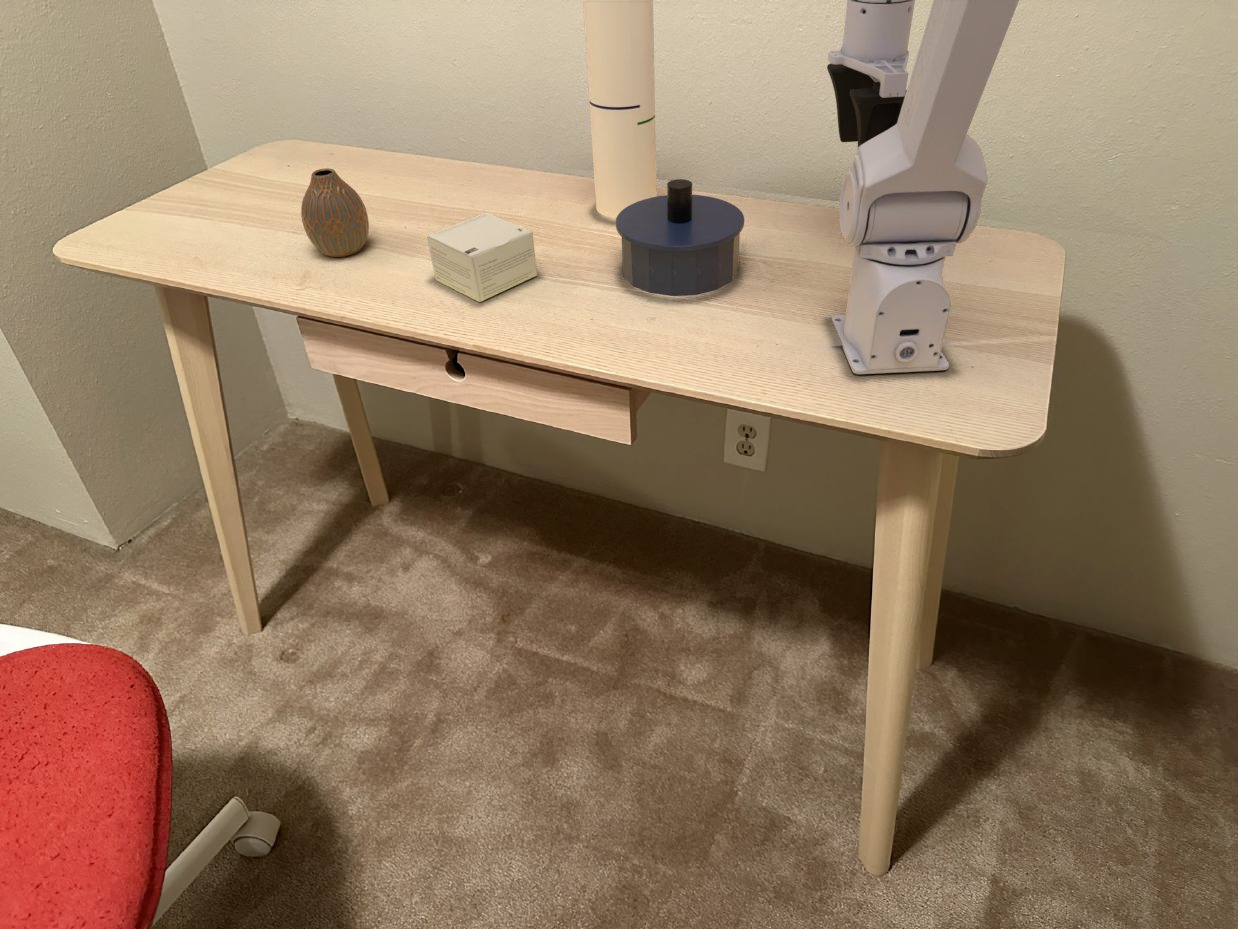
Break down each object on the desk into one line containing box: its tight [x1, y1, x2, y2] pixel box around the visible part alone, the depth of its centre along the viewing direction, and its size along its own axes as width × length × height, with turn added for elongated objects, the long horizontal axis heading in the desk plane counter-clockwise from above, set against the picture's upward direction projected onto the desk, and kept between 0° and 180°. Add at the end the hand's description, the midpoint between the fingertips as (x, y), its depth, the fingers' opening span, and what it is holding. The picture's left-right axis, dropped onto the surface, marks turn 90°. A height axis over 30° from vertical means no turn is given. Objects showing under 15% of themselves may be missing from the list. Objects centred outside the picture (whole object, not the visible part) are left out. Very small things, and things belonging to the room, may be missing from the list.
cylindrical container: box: [582, 0, 658, 219], centre depth 93 cm, size 7×7×25 cm
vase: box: [300, 167, 370, 258], centre depth 93 cm, size 7×7×9 cm
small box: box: [426, 211, 538, 303], centre depth 87 cm, size 8×8×5 cm
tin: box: [621, 232, 741, 297], centre depth 86 cm, size 12×12×5 cm
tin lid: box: [615, 178, 745, 251], centre depth 83 cm, size 13×13×5 cm
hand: (860, 154), depth 83 cm, fingers open, 7 cm apart
